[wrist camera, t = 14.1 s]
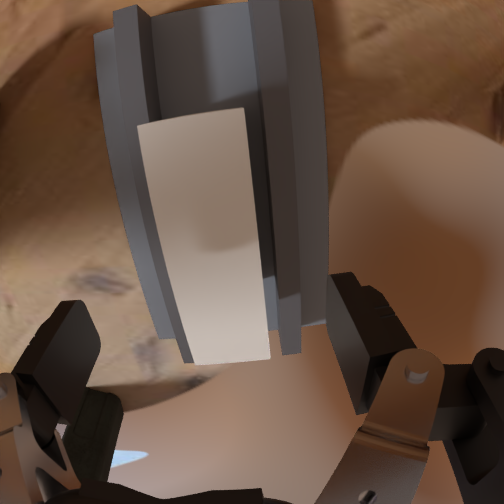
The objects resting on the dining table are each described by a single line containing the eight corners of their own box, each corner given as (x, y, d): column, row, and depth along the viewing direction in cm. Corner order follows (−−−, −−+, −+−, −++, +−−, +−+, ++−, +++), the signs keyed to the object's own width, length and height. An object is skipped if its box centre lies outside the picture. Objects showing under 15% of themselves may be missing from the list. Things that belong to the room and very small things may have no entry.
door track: (161, 331, 26) (152, 364, 23) (99, 36, 15) (72, 26, 12) (323, 315, 26) (335, 347, 22) (309, 4, 15) (324, -15, 12)
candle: (119, 394, 30) (74, 599, 8) (124, 418, 33) (91, 599, 10) (79, 385, 30) (21, 575, 7) (87, 409, 32) (43, 580, 10)
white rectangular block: (206, 285, 23) (195, 365, 16) (176, 116, 18) (136, 125, 10) (260, 279, 23) (270, 359, 16) (241, 107, 18) (243, 108, 10)
